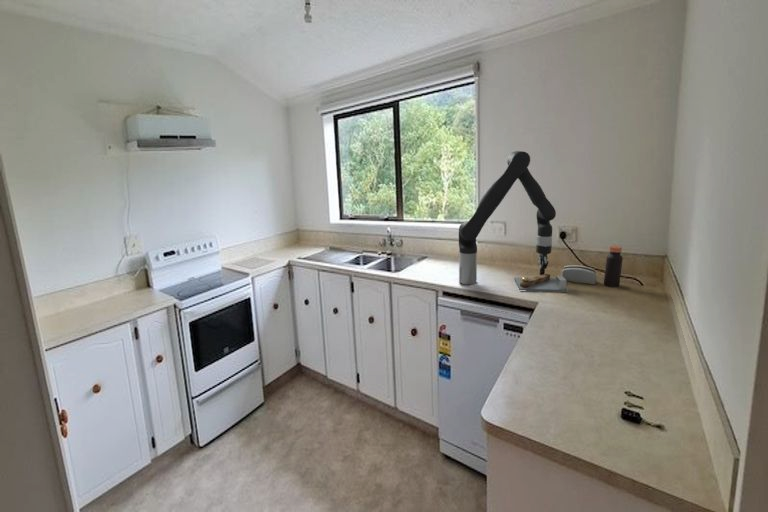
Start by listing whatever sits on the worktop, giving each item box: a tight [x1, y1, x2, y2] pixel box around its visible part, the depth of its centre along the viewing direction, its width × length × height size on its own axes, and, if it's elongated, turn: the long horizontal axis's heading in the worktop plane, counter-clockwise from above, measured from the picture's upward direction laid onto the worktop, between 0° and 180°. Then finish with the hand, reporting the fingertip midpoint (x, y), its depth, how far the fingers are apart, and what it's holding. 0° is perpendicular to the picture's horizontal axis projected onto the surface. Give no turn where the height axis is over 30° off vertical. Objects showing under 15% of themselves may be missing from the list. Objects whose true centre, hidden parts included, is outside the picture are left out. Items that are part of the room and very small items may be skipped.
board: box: [513, 276, 568, 293], centre depth 190 cm, size 22×18×1 cm
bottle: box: [603, 245, 624, 288], centre depth 183 cm, size 7×7×20 cm
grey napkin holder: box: [560, 264, 597, 285], centre depth 193 cm, size 17×5×10 cm, turn 58°
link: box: [520, 273, 551, 287], centre depth 190 cm, size 21×4×2 cm, turn 119°
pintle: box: [521, 276, 529, 282], centre depth 186 cm, size 3×3×1 cm
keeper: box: [555, 275, 567, 290], centre depth 183 cm, size 3×7×5 cm, turn 169°
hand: (541, 275), depth 199 cm, fingers closed
